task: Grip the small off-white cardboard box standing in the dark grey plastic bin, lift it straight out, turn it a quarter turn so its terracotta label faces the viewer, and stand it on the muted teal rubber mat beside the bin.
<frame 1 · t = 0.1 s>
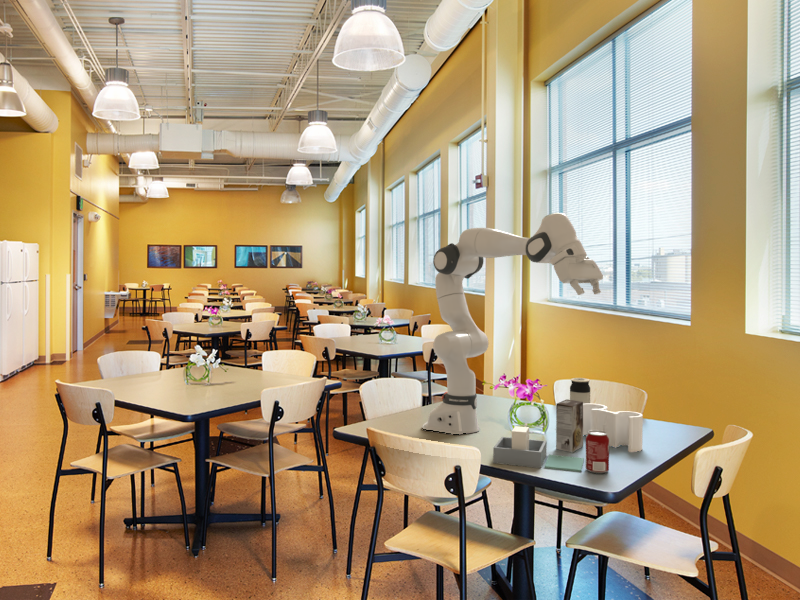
hand: (589, 293, 188), 54 cm above the table, tool tilted 30°, fingers open, 8 cm apart
soda can: (597, 471, 181), on the table
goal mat: (564, 463, 189), on the table
bracket: (609, 443, 213), on the table
parts bin: (520, 459, 194), on the table
label box: (520, 444, 193), in the parts bin
travel mug: (579, 423, 243), on the table
coffee box: (569, 448, 207), on the table
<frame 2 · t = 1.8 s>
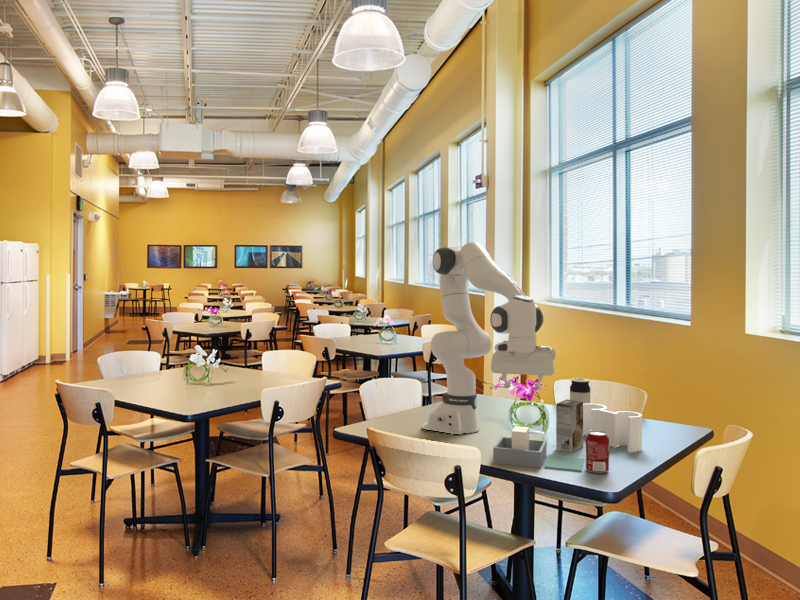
hand: (522, 388, 193), 24 cm above the table, tool pointing down, fingers open, 8 cm apart
nothing on the table moved.
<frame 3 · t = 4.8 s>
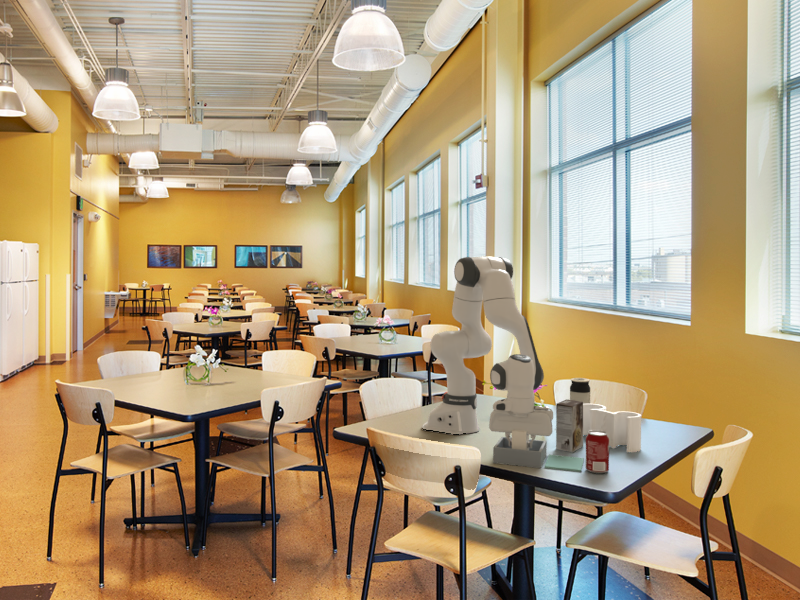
hand: (520, 446, 194), 4 cm above the table, tool pointing down, fingers closed on label box, 5 cm apart
label box: (520, 444, 193), in the parts bin, touching gripper
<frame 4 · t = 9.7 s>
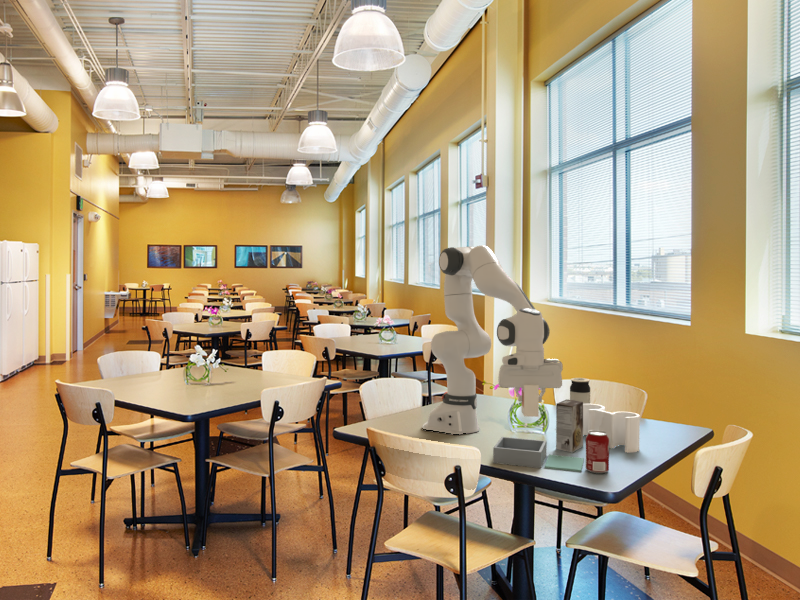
hand: (529, 401, 192), 19 cm above the table, tool pointing down, fingers closed on label box, 5 cm apart
label box: (529, 398, 192), point 20 cm above the table, touching gripper
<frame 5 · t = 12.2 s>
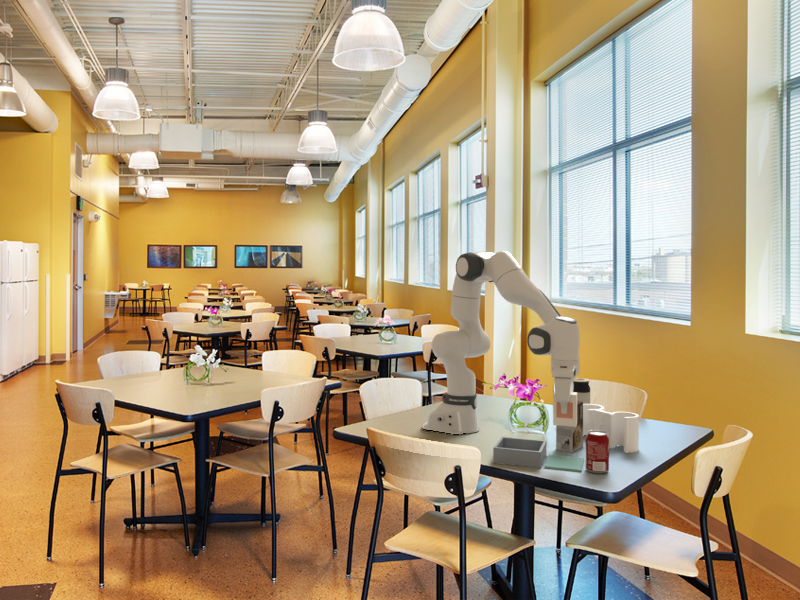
hand: (565, 411, 188), 17 cm above the table, tool pointing down, fingers closed on label box, 5 cm apart
label box: (565, 408, 188), point 18 cm above the table, touching gripper
when the fingers open (6 cm above the table, at t = 14.5 s): label box drops 2 cm, resting on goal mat.
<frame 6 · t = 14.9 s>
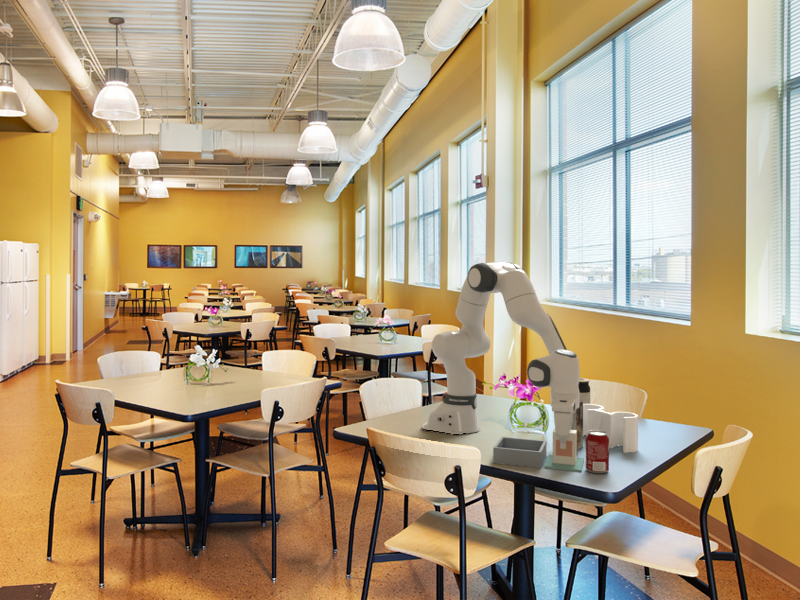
hand: (564, 444, 189), 6 cm above the table, tool pointing down, fingers open, 8 cm apart
label box: (564, 446, 189), on the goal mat, point 6 cm above the table
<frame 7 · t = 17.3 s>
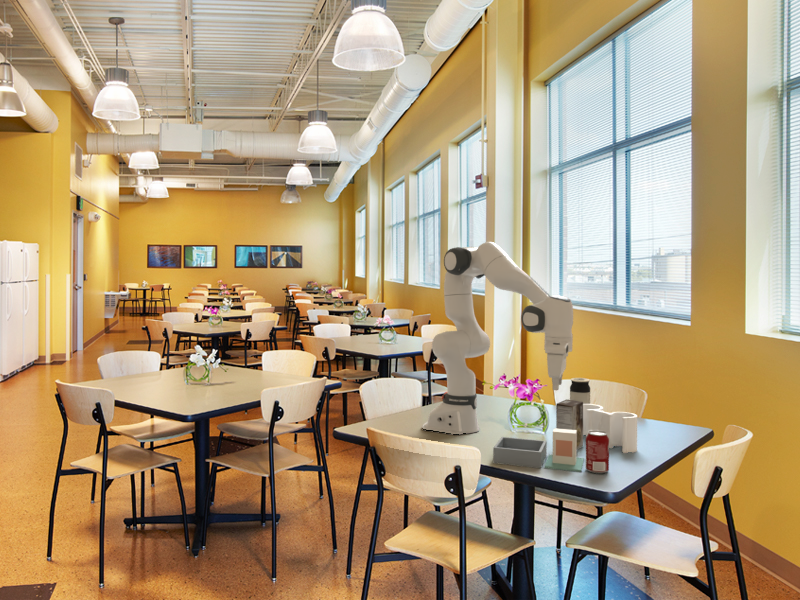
hand: (557, 387, 194), 24 cm above the table, tool pointing down, fingers open, 8 cm apart
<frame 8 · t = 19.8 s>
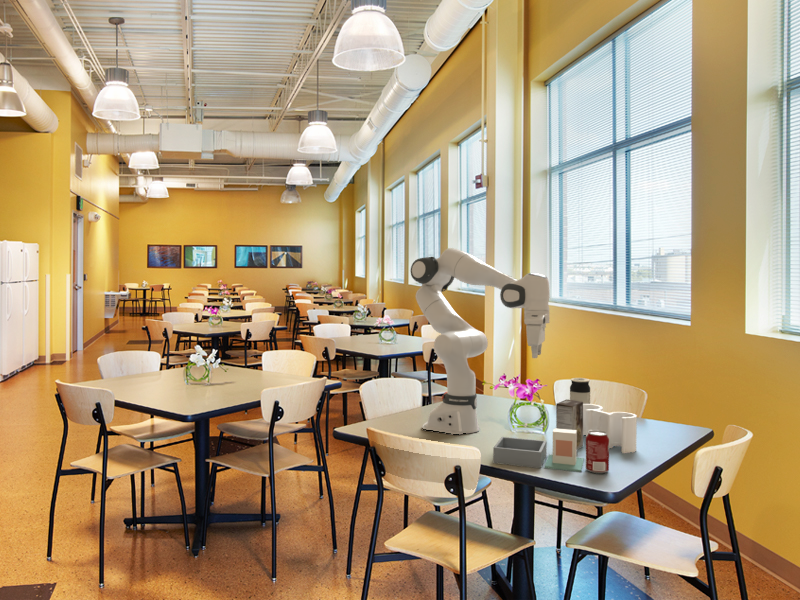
hand: (536, 356, 213), 31 cm above the table, tool pointing down, fingers open, 8 cm apart
at the end: label box inside the target area on the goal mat (0.1 cm from its centre), point 5.6 cm above the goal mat's base; label box tilted 0°; the gripper is holding nothing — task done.
